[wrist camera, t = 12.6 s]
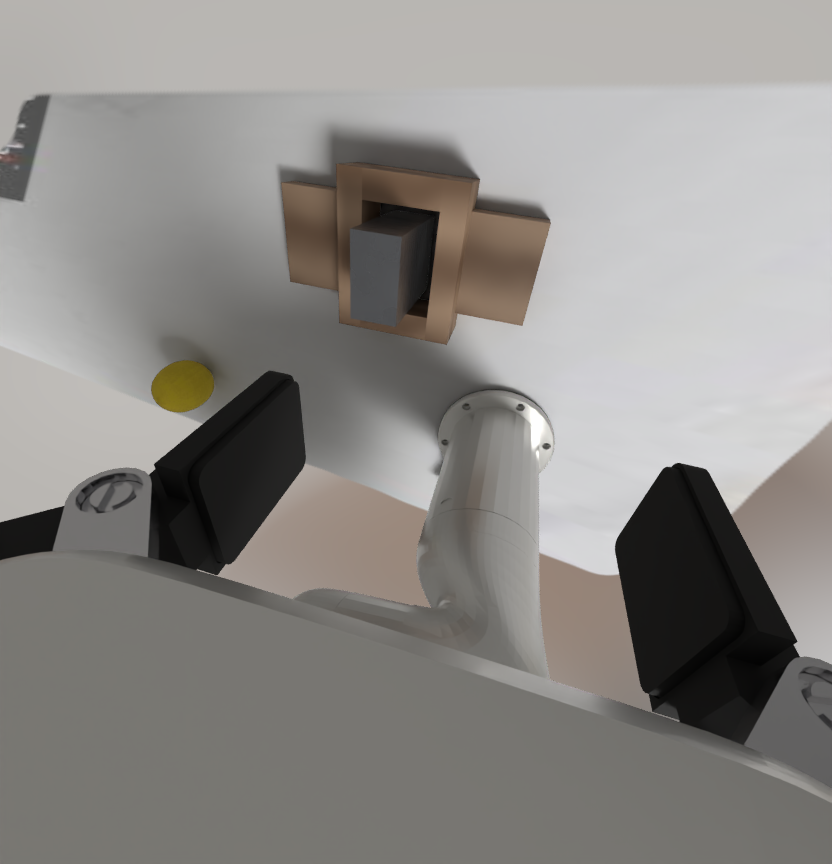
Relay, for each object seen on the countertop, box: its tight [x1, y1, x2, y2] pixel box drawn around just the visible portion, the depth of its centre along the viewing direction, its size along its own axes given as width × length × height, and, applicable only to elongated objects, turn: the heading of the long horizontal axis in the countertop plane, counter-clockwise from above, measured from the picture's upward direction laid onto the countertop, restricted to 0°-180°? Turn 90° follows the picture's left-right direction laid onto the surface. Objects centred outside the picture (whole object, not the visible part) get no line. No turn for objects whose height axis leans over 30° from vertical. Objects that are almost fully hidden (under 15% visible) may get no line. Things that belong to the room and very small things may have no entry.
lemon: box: [151, 360, 214, 412], centre depth 46 cm, size 6×6×8 cm
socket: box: [281, 162, 551, 345], centre depth 33 cm, size 12×22×4 cm, turn 84°
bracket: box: [350, 210, 435, 327], centre depth 31 cm, size 6×4×10 cm, turn 174°
